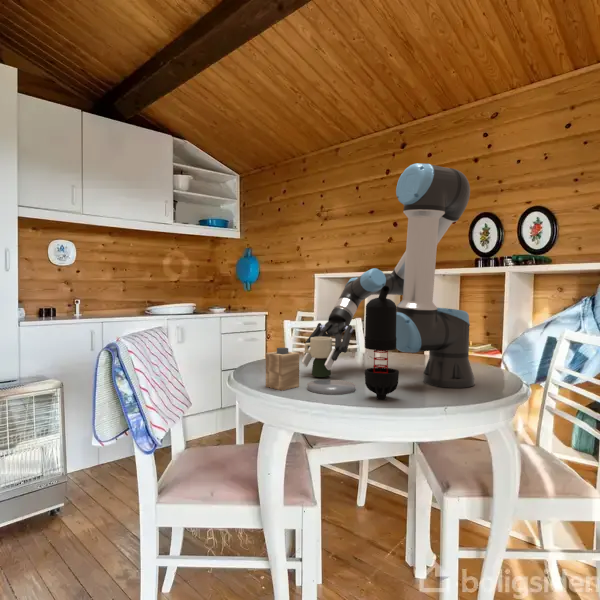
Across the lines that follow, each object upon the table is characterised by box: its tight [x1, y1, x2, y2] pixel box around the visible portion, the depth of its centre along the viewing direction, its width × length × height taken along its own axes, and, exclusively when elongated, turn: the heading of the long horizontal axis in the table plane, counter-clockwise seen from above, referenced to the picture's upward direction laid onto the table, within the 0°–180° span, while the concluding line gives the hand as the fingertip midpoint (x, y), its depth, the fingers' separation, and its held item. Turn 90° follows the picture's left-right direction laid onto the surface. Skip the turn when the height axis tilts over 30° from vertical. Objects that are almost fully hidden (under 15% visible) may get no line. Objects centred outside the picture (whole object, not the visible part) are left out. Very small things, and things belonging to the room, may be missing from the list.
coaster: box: [306, 379, 356, 396], centre depth 129 cm, size 14×14×1 cm
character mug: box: [304, 336, 336, 378], centre depth 146 cm, size 11×7×13 cm, turn 89°
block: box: [265, 351, 300, 391], centre depth 131 cm, size 7×7×10 cm
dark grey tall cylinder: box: [276, 347, 289, 354], centre depth 131 cm, size 3×3×10 cm
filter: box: [364, 286, 400, 401], centre depth 118 cm, size 14×9×30 cm
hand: (315, 365), depth 143 cm, fingers closed on character mug, 8 cm apart
